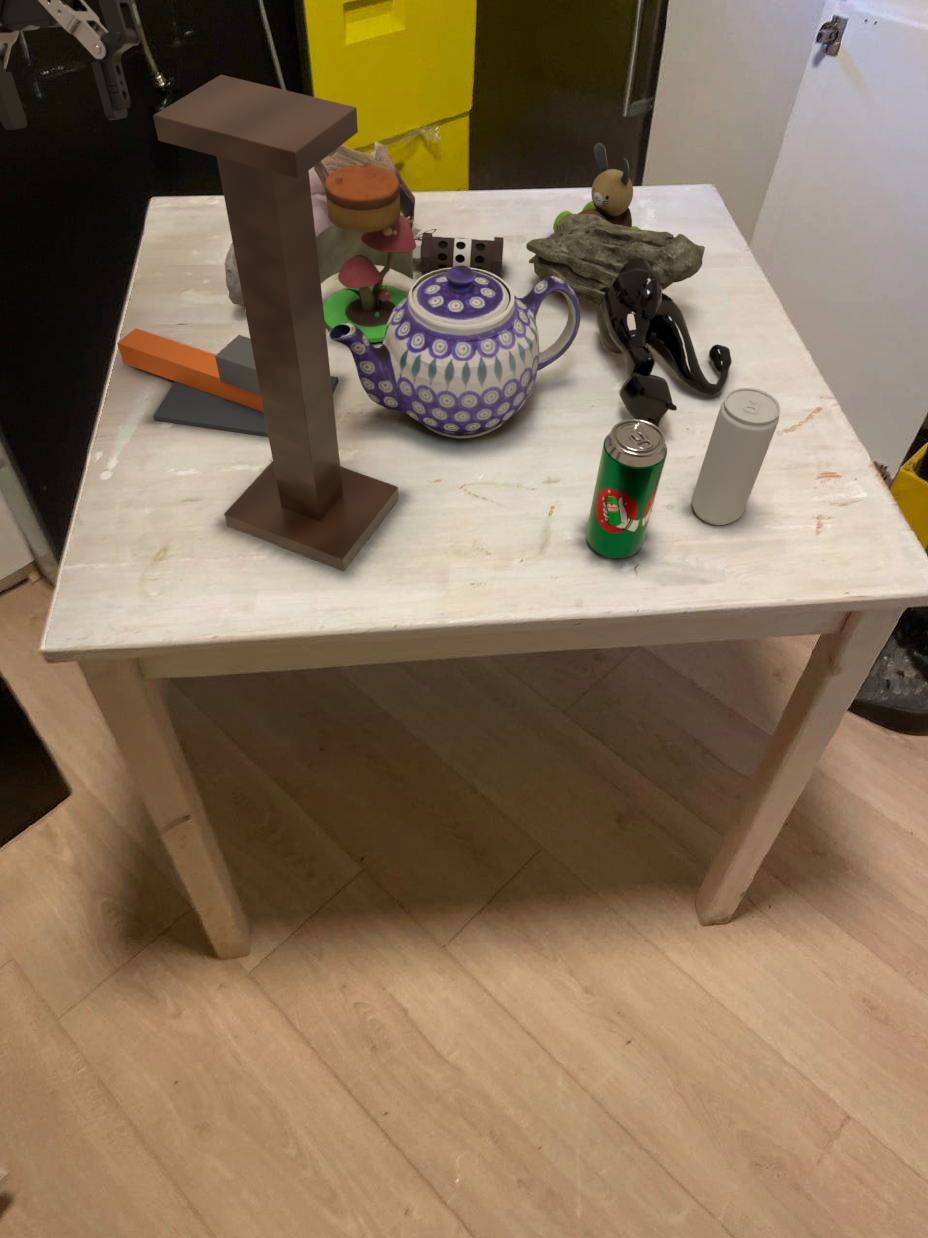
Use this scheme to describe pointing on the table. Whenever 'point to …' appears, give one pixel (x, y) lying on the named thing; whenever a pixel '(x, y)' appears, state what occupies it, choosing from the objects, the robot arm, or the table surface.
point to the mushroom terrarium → (364, 247)
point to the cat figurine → (652, 342)
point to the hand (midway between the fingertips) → (67, 123)
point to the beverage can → (735, 454)
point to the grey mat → (211, 411)
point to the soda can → (626, 487)
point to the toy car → (609, 193)
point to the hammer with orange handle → (197, 365)
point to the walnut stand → (283, 308)
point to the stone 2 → (609, 254)
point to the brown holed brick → (459, 253)
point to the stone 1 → (233, 278)
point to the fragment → (376, 158)
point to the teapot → (459, 350)
